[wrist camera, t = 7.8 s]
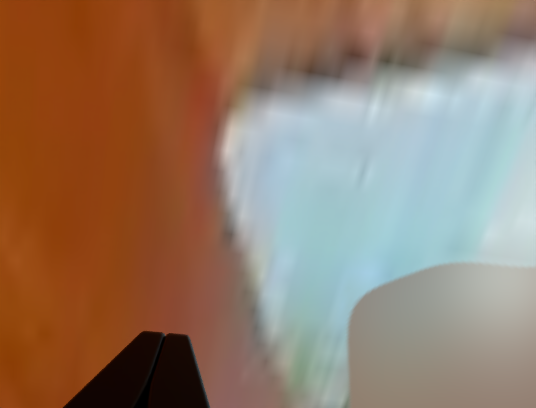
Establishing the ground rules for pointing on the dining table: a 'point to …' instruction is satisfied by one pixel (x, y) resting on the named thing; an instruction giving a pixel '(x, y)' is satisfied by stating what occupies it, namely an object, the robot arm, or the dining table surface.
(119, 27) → the dining table surface
